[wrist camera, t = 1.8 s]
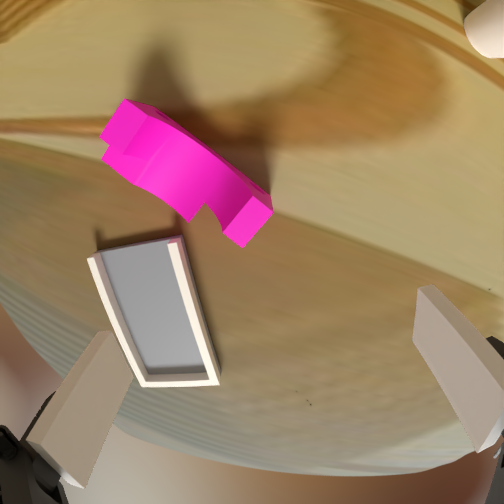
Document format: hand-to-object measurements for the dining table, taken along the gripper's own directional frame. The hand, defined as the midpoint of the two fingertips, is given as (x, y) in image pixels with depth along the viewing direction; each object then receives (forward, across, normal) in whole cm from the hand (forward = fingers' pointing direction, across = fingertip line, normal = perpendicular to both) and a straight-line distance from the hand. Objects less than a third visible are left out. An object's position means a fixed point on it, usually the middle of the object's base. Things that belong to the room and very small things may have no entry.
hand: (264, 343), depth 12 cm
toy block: (+21, -6, +6) cm, 22 cm away
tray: (+20, -14, -10) cm, 27 cm away
